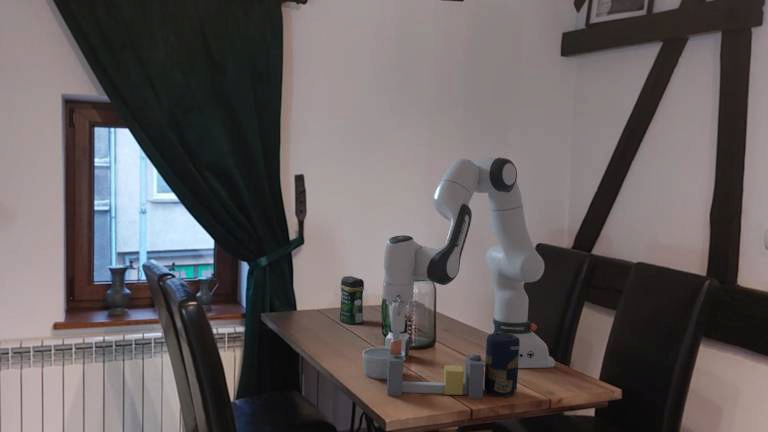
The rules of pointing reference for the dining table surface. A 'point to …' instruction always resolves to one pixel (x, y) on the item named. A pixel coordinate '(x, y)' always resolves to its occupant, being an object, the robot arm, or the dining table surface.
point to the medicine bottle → (403, 337)
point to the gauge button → (396, 347)
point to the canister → (501, 364)
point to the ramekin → (377, 362)
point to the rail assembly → (470, 387)
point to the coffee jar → (351, 300)
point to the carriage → (453, 380)
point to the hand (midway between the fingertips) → (395, 339)
